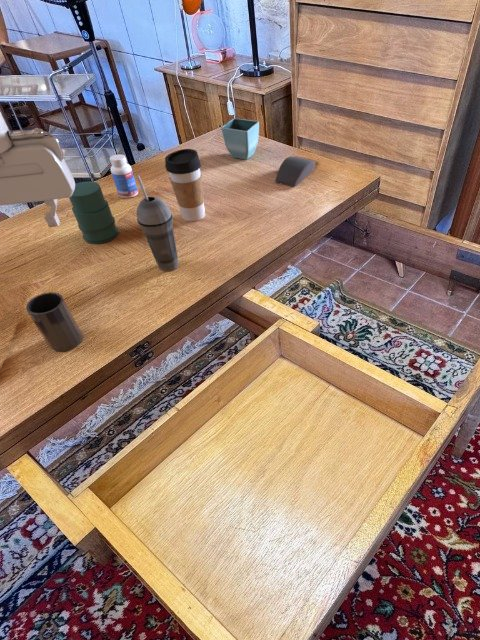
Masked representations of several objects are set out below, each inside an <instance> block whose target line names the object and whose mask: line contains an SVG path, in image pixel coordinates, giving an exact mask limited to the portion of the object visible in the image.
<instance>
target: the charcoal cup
mask: <svg viewBox="0 0 480 640" xmlns="http://www.w3.org/2000/svg"><path fill="white" fill-rule="evenodd" d="M25 309H26V312H27V314H28V315H29V316H30V319H31V320H32V321H33V323H34V324H35V326H36V328H37V329H38V331H39V332H40V334H41V336H42V337H43V339H44V341H45V342H46V344H47V346H48V347H49V348H50V349H51V350H52V351H55V352H58V353H59V352H60V353H61V352H63V353H64V352H67V351H71V350H74V349H75V348H77V347H78V346H79V345H80V344H81V343H82V341H83V339H84V335H83V332H82V331H81V329H80V327H79V325H78V323H77V321H76V319H75V318H74V315H73V313H72V311H71V310H70V308H69V305H68V304H67V302H66V300H65V298H64V297H63V295H62V294H60V293H58V292H44V293H40V294H38V295H36V296H34V297H32V298H31V299H30V300H29V301H28V302H27V303H26V306H25Z"/></svg>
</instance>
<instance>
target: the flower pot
mask: <svg viewBox="0 0 480 640" xmlns="http://www.w3.org/2000/svg"><path fill="white" fill-rule="evenodd" d="M220 129H221V133H222V139H223V141H224V146H225V147H226V149H227V152H229V155H230V156H231V157H232V158H234V159H240V160H246V161H247V160H248V159H250V158H251V157H252V156H253V155H254V154H255V152H256V150H257V147H258V143H259V137H260V136H259V135H260V121H258V120H251V119H244V118H237V117H233V118H232V119H231V120H229V121H228V122H226V123H225V124H224V125H222V127H220Z"/></svg>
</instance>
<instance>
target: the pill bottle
mask: <svg viewBox="0 0 480 640" xmlns="http://www.w3.org/2000/svg"><path fill="white" fill-rule="evenodd" d="M109 162H110V164H111V166H110V172H111V176H112V179H113V183H114V186H115V188H116V191H117V195H118V197H120V198H121V199H122V198H123V199H130V198H134V197H136V196H137V195H138V193H139V190H138V186H137V183H136V179H135V176H134V173H133V169H132V166H131V165H130V164H129V163H127V158H126V155H125V154H114V155H111V156H109Z"/></svg>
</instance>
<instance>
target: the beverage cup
mask: <svg viewBox="0 0 480 640" xmlns="http://www.w3.org/2000/svg"><path fill="white" fill-rule="evenodd" d="M136 179H137V181H138V183H139V185H140V188H141V191H142V193H143V195H144V196H143V197H144V198H142V199H141V200H140V202H139V203H138V205H137V208H136V221H137V223H138V224H139V227H140V229H141V230H142V232H143V234H144V236H145V239H146V241H147V243H148V246H149V248H150V250H151V253H152V256H153V259H154V260H155V263H156V264H157V267H158V269H159V270H160V271H162V272H172V271H175V270H176V269H177V268H178V267H179V256H178V251H177V245H176V238H175V234H174V227H173V226H174V223H173V222H174V220H173V214H172V212H171V209H170V207H169V205H168V204H167V202H165V201H164V200H163V199H161V198H160V197H157V196H148V195H147V192H146V189H145V187H144V184H143V182H142V179H141V176H140V174H137V175H136Z"/></svg>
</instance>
